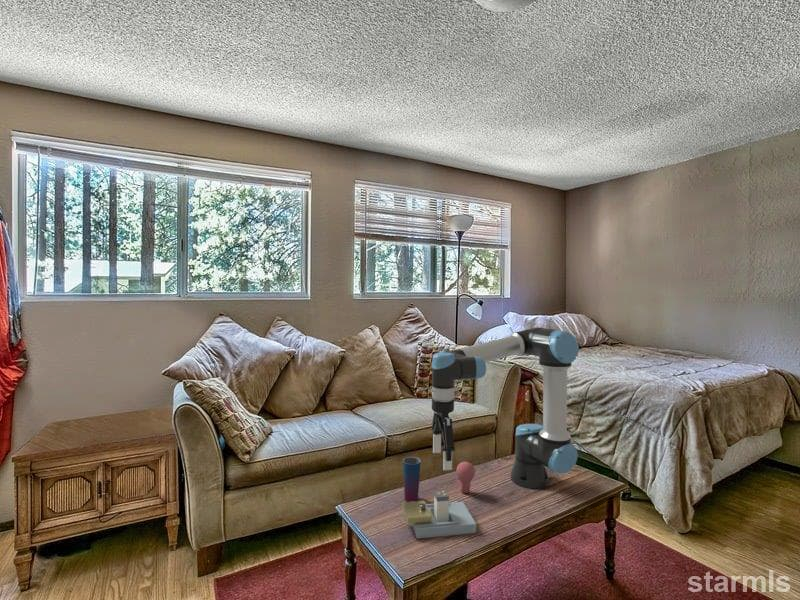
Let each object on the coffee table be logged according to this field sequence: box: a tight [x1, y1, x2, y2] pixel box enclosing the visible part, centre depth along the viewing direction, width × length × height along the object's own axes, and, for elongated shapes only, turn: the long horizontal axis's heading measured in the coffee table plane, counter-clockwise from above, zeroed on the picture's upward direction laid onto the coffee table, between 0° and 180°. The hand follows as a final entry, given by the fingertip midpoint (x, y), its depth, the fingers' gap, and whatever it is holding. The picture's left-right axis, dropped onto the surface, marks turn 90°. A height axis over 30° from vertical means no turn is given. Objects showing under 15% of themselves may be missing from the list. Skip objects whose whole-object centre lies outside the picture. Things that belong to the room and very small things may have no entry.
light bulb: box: [456, 461, 476, 494], centre depth 163 cm, size 7×7×12 cm
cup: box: [402, 456, 422, 502], centre depth 157 cm, size 7×7×15 cm
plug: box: [433, 489, 450, 523], centre depth 141 cm, size 4×4×10 cm
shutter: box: [401, 500, 432, 527], centre depth 140 cm, size 8×10×4 cm
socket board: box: [412, 501, 477, 539], centre depth 141 cm, size 20×14×4 cm
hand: (442, 460), depth 141 cm, fingers open, 13 cm apart
